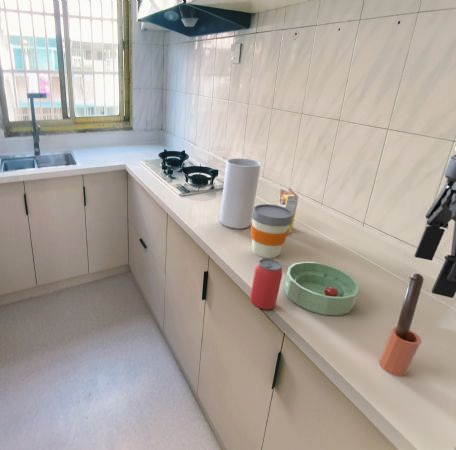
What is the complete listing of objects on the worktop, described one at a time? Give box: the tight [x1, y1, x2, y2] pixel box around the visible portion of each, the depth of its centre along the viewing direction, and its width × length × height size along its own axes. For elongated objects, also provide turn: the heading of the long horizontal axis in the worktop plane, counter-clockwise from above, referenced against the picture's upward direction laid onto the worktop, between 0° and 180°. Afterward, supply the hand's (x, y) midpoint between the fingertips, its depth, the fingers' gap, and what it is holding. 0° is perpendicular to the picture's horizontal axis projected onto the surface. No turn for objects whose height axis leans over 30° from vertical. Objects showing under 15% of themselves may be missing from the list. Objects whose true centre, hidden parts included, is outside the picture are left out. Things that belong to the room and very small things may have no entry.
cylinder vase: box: [219, 157, 262, 230], centre depth 132 cm, size 12×12×25 cm
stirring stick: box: [396, 273, 425, 341], centre depth 66 cm, size 2×2×22 cm
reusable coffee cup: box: [250, 203, 292, 259], centre depth 112 cm, size 12×13×15 cm
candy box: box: [277, 188, 299, 234], centre depth 130 cm, size 9×4×15 cm, turn 177°
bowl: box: [283, 261, 360, 317], centre depth 91 cm, size 17×17×6 cm
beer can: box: [249, 257, 283, 311], centre depth 87 cm, size 7×7×12 cm
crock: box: [378, 326, 422, 377], centre depth 68 cm, size 5×5×9 cm
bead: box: [324, 287, 338, 297], centre depth 90 cm, size 3×3×3 cm
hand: (431, 274), depth 61 cm, fingers open, 13 cm apart
